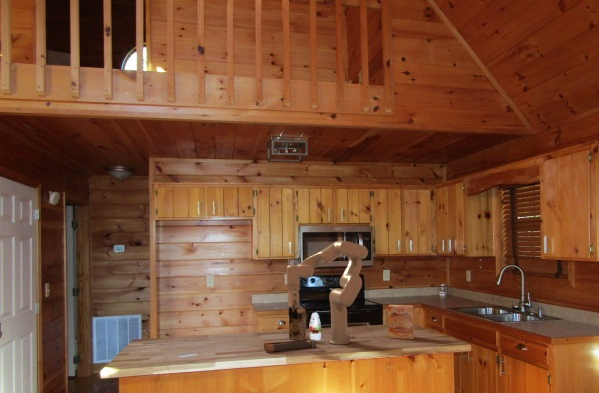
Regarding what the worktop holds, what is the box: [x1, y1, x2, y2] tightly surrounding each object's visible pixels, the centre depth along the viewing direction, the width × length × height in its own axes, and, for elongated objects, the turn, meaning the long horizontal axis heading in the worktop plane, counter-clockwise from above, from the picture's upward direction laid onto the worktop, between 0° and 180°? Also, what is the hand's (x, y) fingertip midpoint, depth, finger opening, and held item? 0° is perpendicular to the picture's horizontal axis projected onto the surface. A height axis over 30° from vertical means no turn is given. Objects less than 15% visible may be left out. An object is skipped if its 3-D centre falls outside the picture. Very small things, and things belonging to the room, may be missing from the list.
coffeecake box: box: [387, 304, 415, 340], centre depth 280 cm, size 15×7×20 cm, turn 73°
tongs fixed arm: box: [263, 339, 317, 351], centre depth 256 cm, size 30×4×4 cm, turn 103°
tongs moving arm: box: [265, 339, 313, 353], centre depth 252 cm, size 27×2×4 cm, turn 112°
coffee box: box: [288, 311, 307, 341], centre depth 279 cm, size 9×6×16 cm
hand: (293, 317), depth 257 cm, fingers open, 9 cm apart
